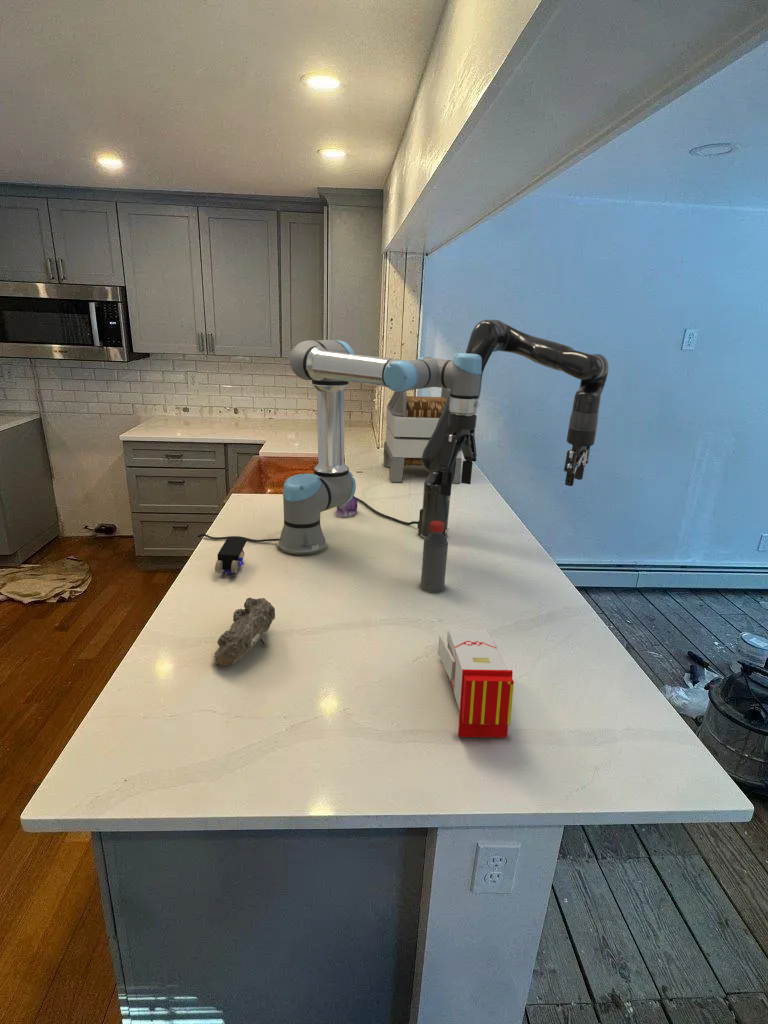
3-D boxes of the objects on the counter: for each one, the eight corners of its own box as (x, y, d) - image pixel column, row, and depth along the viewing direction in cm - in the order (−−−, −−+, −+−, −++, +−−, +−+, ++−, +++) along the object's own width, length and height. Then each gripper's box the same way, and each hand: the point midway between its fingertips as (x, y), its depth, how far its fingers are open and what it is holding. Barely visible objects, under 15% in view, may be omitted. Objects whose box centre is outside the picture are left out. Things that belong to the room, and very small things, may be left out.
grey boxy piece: (382, 463, 289) (386, 382, 275) (445, 464, 293) (451, 384, 279) (390, 482, 257) (394, 392, 243) (460, 483, 261) (468, 394, 247)
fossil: (230, 601, 141) (273, 572, 136) (255, 627, 144) (299, 600, 139) (195, 660, 122) (245, 629, 117) (226, 689, 125) (276, 660, 120)
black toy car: (238, 584, 162) (249, 557, 175) (236, 562, 158) (247, 536, 172) (215, 584, 161) (227, 556, 175) (212, 561, 158) (225, 535, 171)
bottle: (426, 579, 167) (430, 518, 160) (447, 585, 164) (453, 523, 157) (416, 589, 161) (421, 525, 154) (438, 595, 158) (444, 530, 152)
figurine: (340, 519, 210) (340, 480, 205) (329, 510, 219) (330, 473, 214) (363, 516, 214) (364, 478, 209) (351, 507, 223) (352, 471, 218)
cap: (433, 526, 159) (433, 519, 158) (446, 529, 157) (446, 522, 157) (427, 530, 156) (428, 523, 155) (440, 533, 154) (441, 526, 153)
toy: (488, 613, 130) (523, 677, 101) (484, 667, 133) (517, 744, 104) (435, 612, 130) (455, 676, 101) (432, 666, 133) (451, 743, 103)
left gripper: (456, 421, 140) (449, 502, 147) (492, 409, 160) (485, 481, 168) (429, 417, 144) (423, 497, 151) (468, 406, 164) (461, 476, 171)
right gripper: (577, 422, 167) (568, 474, 173) (561, 428, 156) (552, 484, 162) (603, 425, 163) (593, 479, 169) (588, 433, 152) (578, 490, 158)
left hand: (455, 488), depth 159 cm, fingers open, 13 cm apart
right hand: (573, 482), depth 165 cm, fingers open, 8 cm apart
